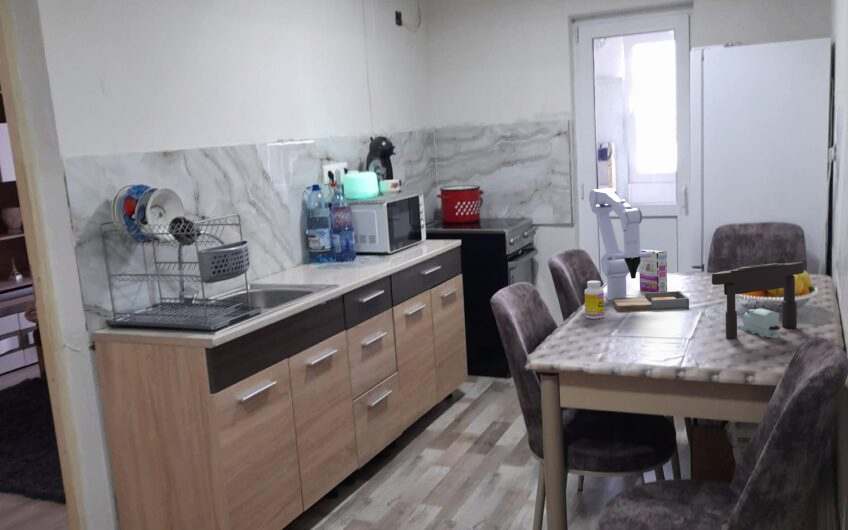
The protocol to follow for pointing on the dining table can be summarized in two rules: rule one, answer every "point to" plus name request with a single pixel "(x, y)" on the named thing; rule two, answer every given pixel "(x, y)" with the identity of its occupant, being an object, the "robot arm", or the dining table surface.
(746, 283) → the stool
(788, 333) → the dining table surface
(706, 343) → the dining table surface
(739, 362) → the dining table surface
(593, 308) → the supplement bottle
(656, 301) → the tray
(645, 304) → the board
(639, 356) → the dining table surface
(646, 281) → the candy bar box
